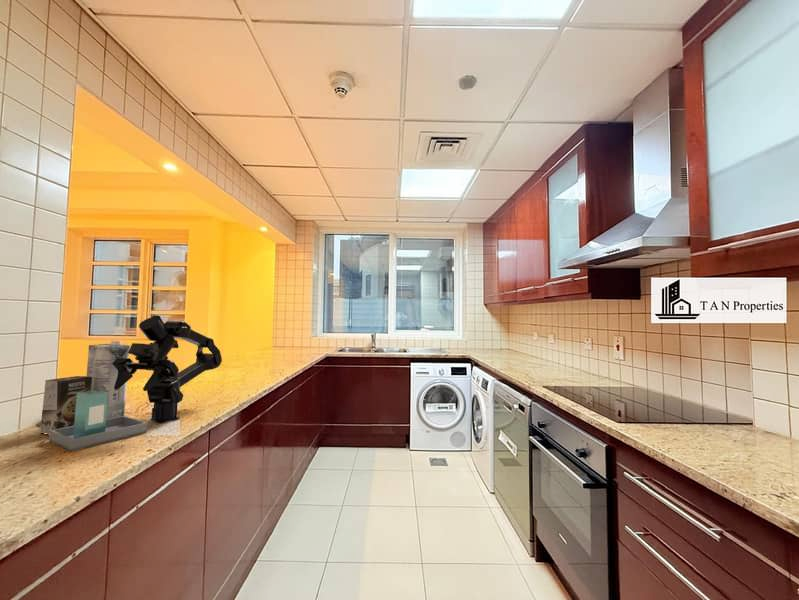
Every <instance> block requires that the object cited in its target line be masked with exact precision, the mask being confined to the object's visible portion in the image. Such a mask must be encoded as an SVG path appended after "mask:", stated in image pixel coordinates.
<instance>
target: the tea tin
mask: <svg viewBox="0 0 799 600" xmlns="http://www.w3.org/2000/svg"><path fill="white" fill-rule="evenodd" d="M107 398H108V392H106V391H100V390H95V391H89V392H82V393H77V397H76V410H75V422H74V435H73V439H75V438H80V437H84V436H89V435H93V434H98V433H102V432H105V424H106V411H107Z"/></svg>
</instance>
